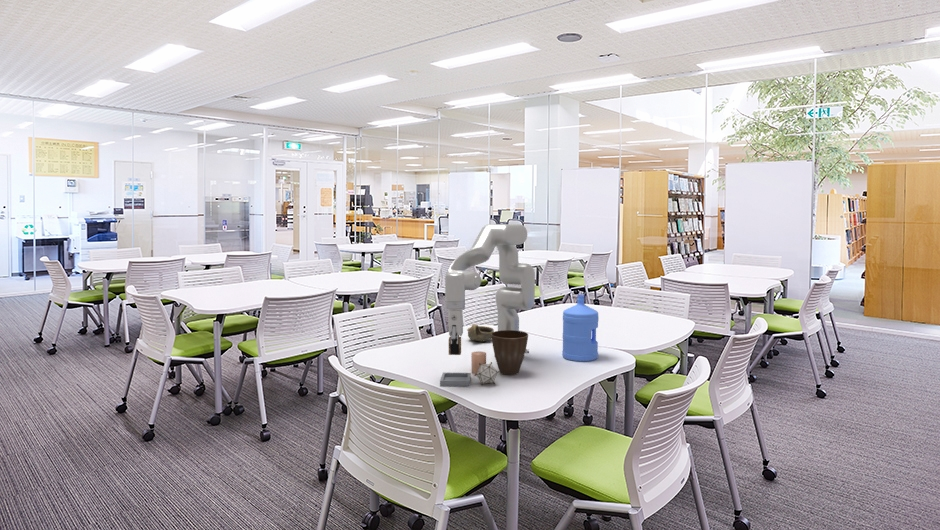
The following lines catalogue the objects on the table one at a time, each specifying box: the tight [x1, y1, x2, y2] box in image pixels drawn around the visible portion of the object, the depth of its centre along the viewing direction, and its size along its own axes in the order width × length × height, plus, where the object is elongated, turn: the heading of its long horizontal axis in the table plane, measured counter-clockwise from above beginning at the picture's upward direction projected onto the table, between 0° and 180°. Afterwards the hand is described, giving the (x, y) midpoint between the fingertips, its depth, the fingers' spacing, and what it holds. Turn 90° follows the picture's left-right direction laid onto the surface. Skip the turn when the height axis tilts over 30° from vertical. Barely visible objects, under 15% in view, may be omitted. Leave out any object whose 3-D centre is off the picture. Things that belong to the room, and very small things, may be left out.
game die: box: [474, 361, 500, 386], centre depth 213 cm, size 9×8×10 cm
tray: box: [439, 372, 472, 387], centre depth 216 cm, size 11×11×2 cm
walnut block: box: [448, 336, 462, 356], centre depth 215 cm, size 4×4×6 cm
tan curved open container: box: [466, 323, 495, 343], centre depth 283 cm, size 14×18×10 cm
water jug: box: [561, 294, 599, 362], centre depth 250 cm, size 16×16×28 cm
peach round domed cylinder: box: [470, 350, 487, 375], centre depth 228 cm, size 6×6×8 cm
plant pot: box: [491, 330, 529, 376], centre depth 227 cm, size 15×15×16 cm
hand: (455, 352), depth 215 cm, fingers closed on walnut block, 4 cm apart
